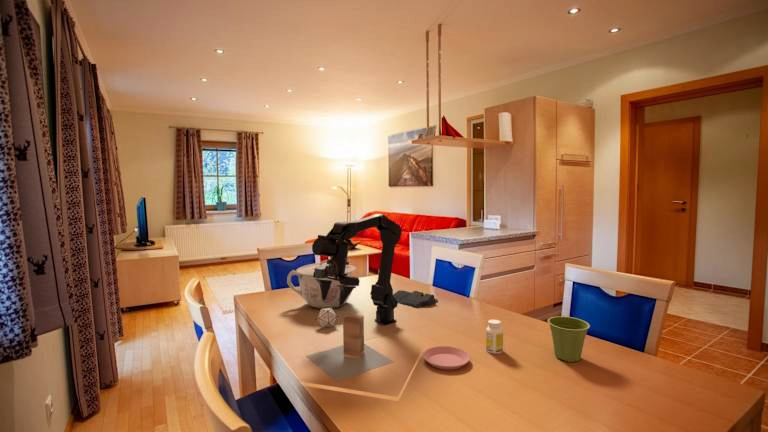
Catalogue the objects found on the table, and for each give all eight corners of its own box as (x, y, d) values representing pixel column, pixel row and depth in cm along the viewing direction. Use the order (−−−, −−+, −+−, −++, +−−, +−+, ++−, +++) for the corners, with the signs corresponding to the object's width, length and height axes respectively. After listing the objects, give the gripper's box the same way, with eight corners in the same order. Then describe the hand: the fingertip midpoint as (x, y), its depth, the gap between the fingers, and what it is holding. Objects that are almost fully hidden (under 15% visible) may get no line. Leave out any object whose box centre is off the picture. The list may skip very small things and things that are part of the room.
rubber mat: (359, 343, 134) (359, 340, 134) (394, 364, 118) (394, 361, 118) (305, 358, 122) (305, 356, 122) (336, 384, 106) (336, 381, 106)
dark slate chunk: (405, 294, 196) (405, 284, 196) (441, 302, 181) (441, 292, 181) (384, 300, 185) (384, 290, 185) (420, 310, 170) (420, 299, 170)
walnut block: (349, 349, 126) (349, 313, 125) (364, 351, 125) (363, 315, 124) (343, 356, 122) (343, 319, 121) (358, 358, 120) (358, 320, 119)
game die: (330, 338, 148) (332, 323, 141) (310, 329, 149) (312, 314, 143) (340, 320, 154) (343, 305, 148) (321, 312, 156) (323, 296, 149)
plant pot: (538, 353, 124) (539, 319, 123) (565, 347, 129) (566, 314, 128) (569, 369, 113) (570, 331, 113) (597, 361, 118) (598, 325, 117)
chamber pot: (368, 301, 183) (368, 258, 181) (330, 318, 160) (329, 268, 158) (323, 293, 198) (322, 253, 196) (283, 307, 175) (281, 262, 173)
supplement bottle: (503, 348, 128) (503, 319, 128) (502, 355, 123) (503, 325, 123) (486, 346, 130) (486, 318, 129) (485, 353, 125) (485, 323, 124)
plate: (440, 377, 110) (440, 370, 110) (414, 357, 122) (414, 351, 122) (479, 366, 116) (479, 359, 116) (450, 348, 129) (450, 342, 129)
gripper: (304, 252, 136) (297, 297, 135) (339, 259, 124) (331, 308, 122) (328, 255, 144) (322, 297, 143) (363, 261, 132) (356, 308, 130)
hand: (332, 302), depth 134 cm, fingers open, 9 cm apart
